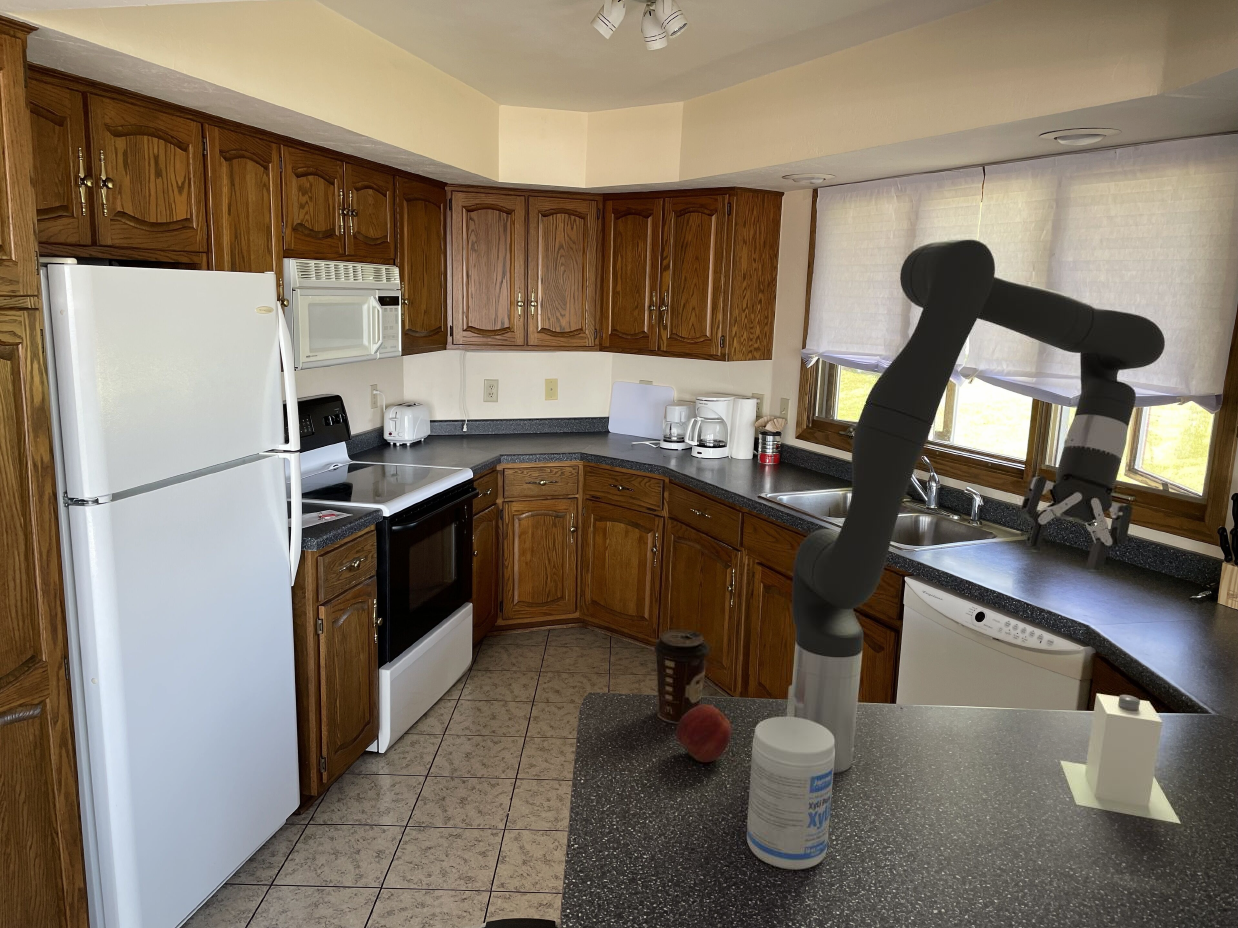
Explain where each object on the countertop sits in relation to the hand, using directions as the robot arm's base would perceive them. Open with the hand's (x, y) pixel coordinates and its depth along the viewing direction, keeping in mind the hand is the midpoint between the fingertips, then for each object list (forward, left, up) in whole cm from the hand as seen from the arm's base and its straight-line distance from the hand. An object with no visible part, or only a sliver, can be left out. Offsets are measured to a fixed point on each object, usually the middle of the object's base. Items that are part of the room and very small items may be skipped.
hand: (1062, 560), depth 122 cm
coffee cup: (-52, +7, -30) cm, 61 cm away
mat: (+7, -10, -30) cm, 32 cm away
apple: (-49, -6, -30) cm, 58 cm away
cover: (+7, -9, -29) cm, 31 cm away
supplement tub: (-40, -26, -30) cm, 57 cm away
